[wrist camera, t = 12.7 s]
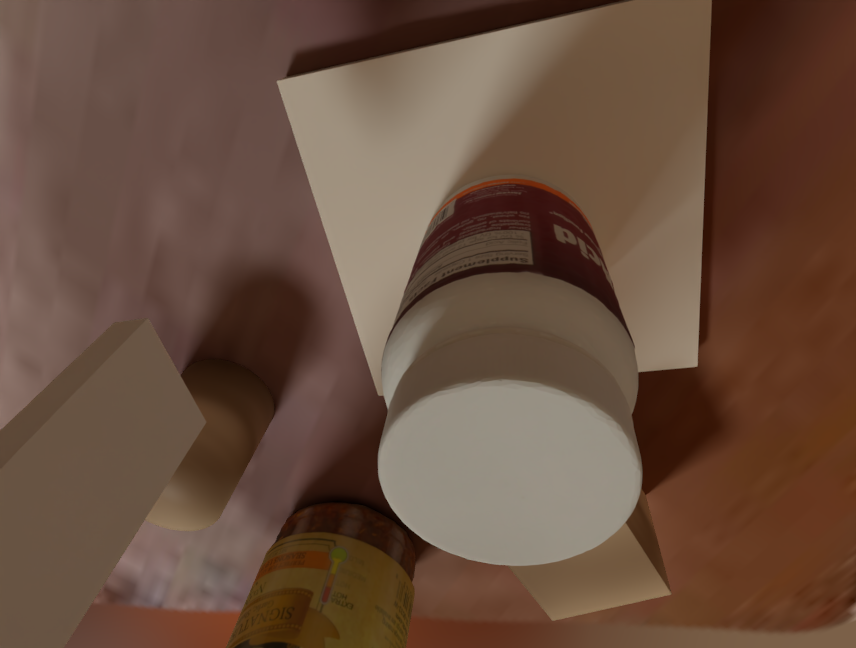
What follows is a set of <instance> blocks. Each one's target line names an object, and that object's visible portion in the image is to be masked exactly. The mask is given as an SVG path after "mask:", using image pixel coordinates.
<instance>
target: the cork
mask: <svg viewBox="0 0 856 648" xmlns="http://www.w3.org/2000/svg"><path fill="white" fill-rule="evenodd" d="M181 378H182V379H183V381H184V383H185V385H186V387H187V388H188V390H189V392H190V394H191V395H192V397H193V399H194V401H195V403H196V404H197V406H198V408H199V410H200V411H201V413H202V415H203V417H204V418H205V420H206V424H205V425H204V427H203V428H202V430H201V432H200V433H199V435H198V436H197V438H196V440H195V441H194V443H193V444H192V446H191V447H190V449H189V451H188V452H187V454H186V455H185V457H184V458H183V460H182V462H181V463H180V465H179V466H178V468H177V470H176V471H175V473H174V474H173V476H172V477H171V479H170V481H169V482H168V484H167V485H166V487H165V489H164V490H163V492H162V493H161V495H160V496H159V498H158V500H157V501H156V503H155V504H154V506H153V507H152V509H151V511H150V512H149V514H148V515H147V517H146V519H145V520H146V521H148V522H150V523H153V524H155V525H158V526H161V527H164V528H168V529H172V530H179V531H195V530H201V529H204V528H207V527H209V526H211V525H213V524H214V523H215V522H216V521H217V520H218V519H219V518H220V516H221V514H222V512H223V510H224V508H225V507H226V505H227V503H228V501H229V499H230V497H231V495H232V493H233V492H234V490H235V488H236V486H237V484H238V482H239V480H240V478H241V477H242V475H243V473H244V471H245V469H246V467H247V465H248V463H249V462H250V460H251V458H252V456H253V454H254V452H255V450H256V449H257V447H258V445H259V443H260V441H261V439H262V437H263V435H264V434H265V432H266V430H267V428H268V426H269V424H270V422H271V420H272V419H273V416H274V410H275V408H274V401H273V397H272V395H271V393H270V391H269V389H268V388H267V386H266V385H265V384H264V382H263V381H262V380H261V379H260V378H259V377H258V376H256V375H255V374H254V373H253V372H251V371H250V370H248V369H246V368H245V367H243V366H241V365H238V364H236V363H233V362H230V361H226V360H220V359H206V360H201V361H198V362H195V363H194V364H192V365H190V366H189V367H188V368H187V369H186V370H185V371H184V372H183V373H182V374H181Z"/></svg>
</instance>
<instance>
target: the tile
mask: <svg viewBox="0 0 856 648" xmlns="http://www.w3.org/2000/svg"><path fill="white" fill-rule="evenodd" d="M711 9H712V0H623V1H619V2H615V3H610V4H606V5H601V6H597V7H593V8H588V9H584V10H579V11H575V12H571V13H566V14H562V15H557V16H553V17H549V18H544V19H540V20H535V21H531V22H527V23H522V24H518V25H513V26H509V27H504V28H500V29H496V30H491V31H487V32H482V33H478V34H474V35H469V36H465V37H460V38H456V39H452V40H447V41H443V42H438V43H434V44H430V45H425V46H421V47H416V48H412V49H407V50H403V51H399V52H394V53H390V54H385V55H381V56H377V57H372V58H368V59H363V60H359V61H355V62H350V63H346V64H341V65H337V66H333V67H328V68H324V69H319V70H315V71H311V72H306V73H302V74H297V75H293V76H288V77H284V78H282V79H280V80H278V81H277V84H278V87H279V90H280V93H281V96H282V99H283V102H284V105H285V108H286V111H287V115H288V118H289V121H290V124H291V127H292V130H293V133H294V136H295V139H296V142H297V146H298V149H299V152H300V155H301V158H302V161H303V164H304V167H305V170H306V173H307V176H308V180H309V183H310V186H311V189H312V192H313V195H314V198H315V201H316V204H317V207H318V211H319V214H320V217H321V220H322V223H323V226H324V229H325V232H326V235H327V238H328V241H329V245H330V248H331V251H332V254H333V257H334V260H335V263H336V266H337V269H338V272H339V276H340V279H341V282H342V285H343V288H344V291H345V294H346V297H347V300H348V303H349V306H350V310H351V313H352V316H353V319H354V322H355V325H356V328H357V331H358V334H359V337H360V341H361V344H362V347H363V350H364V353H365V356H366V359H367V362H368V365H369V368H370V371H371V375H372V378H373V381H374V384H375V387H376V390H377V393H378V396H383V395H384V394H383V387H382V377H381V364H382V358H383V353H384V348H385V345H386V342H387V339H388V336H389V333H390V331H391V330H392V327H393V324H394V321H395V318H396V315H397V312H398V310H399V307H400V303H401V300H402V298H403V295H404V291H405V288H406V286H407V283H408V281H409V278H410V275H411V271H412V269H413V266H414V263H415V260H416V257H417V254H418V251H419V248H420V245H421V243H422V240H423V237H424V235H425V232H426V229H427V227H428V225H429V223H430V221H431V219H432V217H433V216H434V214H435V213H436V211H437V210H438V209H439V207H440V206H441V205H442V204H443V203H444V202H445V201H446V200H447V199H448V198H449V197H450V196H451V195H452V194H454V193H455V192H456V191H458V190H459V189H460V188H462V187H463V186H465V185H468V184H470V183H472V182H475V181H477V180H480V179H484V178H487V177H492V176H498V175H512V174H513V175H526V176H531V177H535V178H539V179H542V180H545V181H547V182H549V183H552V184H554V185H556V186H557V187H559V188H561V189H563V190H564V191H565V192H566V193H568V194H569V195H570V196H571V197H572V198H573V199H574V200H575V201H576V202H577V203H578V204H579V205H580V207H581V208H582V210H583V211H584V213H585V214H586V216H587V217H588V219H589V221H590V223H591V225H592V228H593V230H594V233H595V236H596V239H597V242H598V244H599V247H600V249H601V251H602V255H603V258H604V261H605V264H606V267H607V270H608V272H609V275H610V278H611V280H612V282H613V287H614V291H615V295H616V297H617V299H618V302H619V306H620V309H621V311H622V314H623V317H624V319H625V322H626V325H627V328H628V330H629V332H630V335H631V337H632V340H633V343H634V345H635V355H636V360H637V366H638V372H645V371H656V370H667V369H678V368H689V367H697V366H698V340H699V315H700V289H701V264H702V238H703V213H704V188H705V162H706V137H707V111H708V86H709V60H710V35H711Z"/></svg>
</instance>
